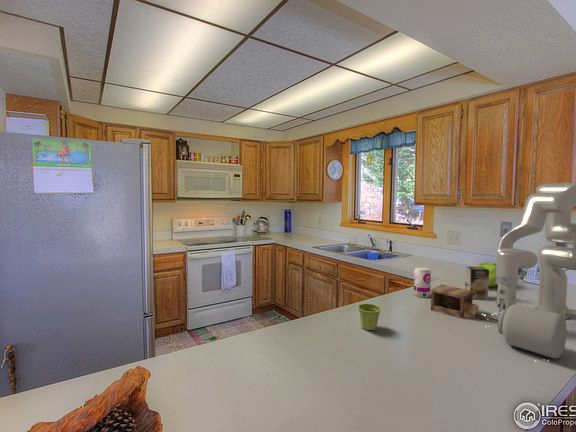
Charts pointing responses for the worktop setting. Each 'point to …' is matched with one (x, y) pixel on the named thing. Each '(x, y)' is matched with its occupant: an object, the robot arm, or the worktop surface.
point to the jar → (533, 330)
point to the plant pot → (369, 315)
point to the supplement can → (422, 282)
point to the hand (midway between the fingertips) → (504, 322)
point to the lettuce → (490, 273)
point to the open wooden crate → (450, 300)
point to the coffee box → (477, 282)
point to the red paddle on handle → (474, 311)
